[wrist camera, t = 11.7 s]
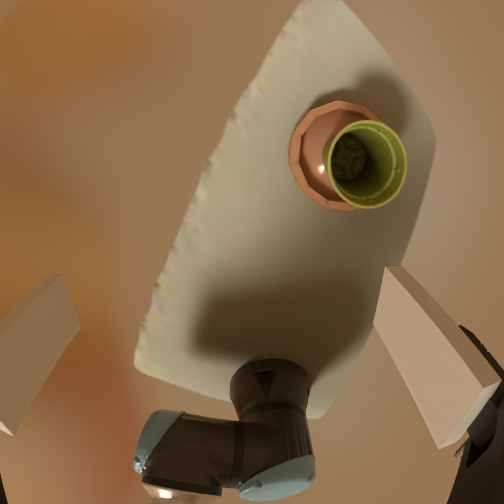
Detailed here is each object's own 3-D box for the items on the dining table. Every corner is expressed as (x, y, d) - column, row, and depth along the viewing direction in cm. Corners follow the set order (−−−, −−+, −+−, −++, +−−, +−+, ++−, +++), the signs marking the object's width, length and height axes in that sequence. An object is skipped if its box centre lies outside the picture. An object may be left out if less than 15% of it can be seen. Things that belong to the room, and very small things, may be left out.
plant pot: (386, 143, 34) (420, 147, 26) (358, 203, 38) (385, 222, 30) (326, 109, 33) (349, 103, 25) (297, 174, 36) (312, 186, 28)
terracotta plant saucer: (347, 224, 40) (352, 230, 38) (266, 164, 37) (268, 166, 34) (402, 149, 36) (411, 150, 33) (328, 83, 32) (334, 80, 30)
